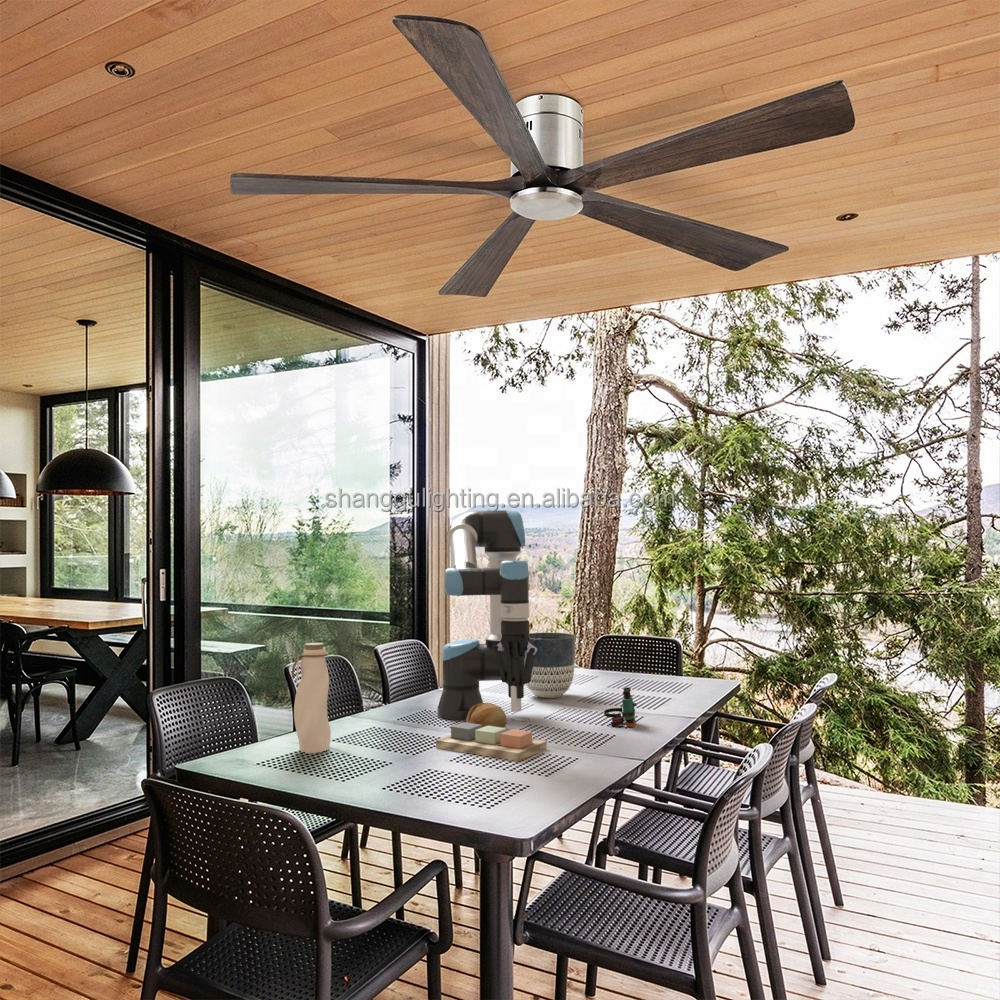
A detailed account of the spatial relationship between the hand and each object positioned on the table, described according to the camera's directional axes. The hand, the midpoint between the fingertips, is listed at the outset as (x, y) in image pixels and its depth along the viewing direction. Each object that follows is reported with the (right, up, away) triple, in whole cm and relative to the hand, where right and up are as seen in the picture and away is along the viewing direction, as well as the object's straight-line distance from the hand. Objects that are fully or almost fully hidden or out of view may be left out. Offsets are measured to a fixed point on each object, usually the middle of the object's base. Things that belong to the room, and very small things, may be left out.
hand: (516, 710), depth 207 cm
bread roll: (-8, -12, +23) cm, 28 cm away
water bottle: (-54, -12, +4) cm, 56 cm away
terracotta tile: (0, -9, 0) cm, 9 cm away
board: (-7, -11, +4) cm, 14 cm away
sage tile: (-7, -9, +4) cm, 12 cm away
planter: (+13, -15, +73) cm, 75 cm away
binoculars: (+32, -12, +29) cm, 45 cm away
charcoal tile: (-13, -9, +9) cm, 18 cm away
